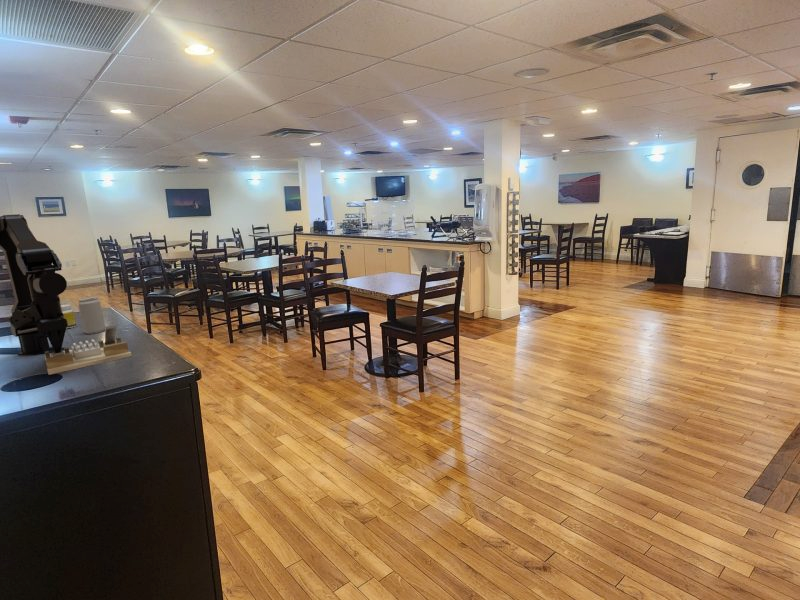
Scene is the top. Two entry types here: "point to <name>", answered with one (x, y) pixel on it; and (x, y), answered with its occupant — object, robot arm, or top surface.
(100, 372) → the top surface
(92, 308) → the beverage can
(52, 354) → the strap
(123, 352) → the heatsink board
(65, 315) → the supplement bottle
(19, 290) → the robot arm
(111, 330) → the strap
